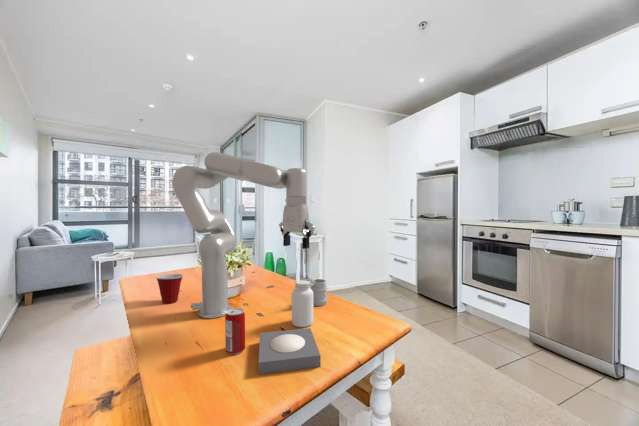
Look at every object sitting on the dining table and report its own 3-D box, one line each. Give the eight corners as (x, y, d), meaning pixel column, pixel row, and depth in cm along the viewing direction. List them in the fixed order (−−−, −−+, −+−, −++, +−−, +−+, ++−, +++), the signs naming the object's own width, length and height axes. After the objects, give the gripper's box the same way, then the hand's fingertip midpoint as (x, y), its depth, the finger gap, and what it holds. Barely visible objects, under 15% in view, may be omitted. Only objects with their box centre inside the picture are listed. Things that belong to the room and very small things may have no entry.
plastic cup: (189, 298, 123) (188, 272, 123) (172, 306, 112) (172, 278, 112) (168, 296, 125) (168, 271, 125) (150, 305, 114) (149, 277, 114)
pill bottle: (316, 319, 99) (316, 280, 98) (308, 329, 91) (308, 286, 91) (297, 317, 101) (296, 278, 101) (287, 326, 94) (287, 284, 93)
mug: (331, 303, 116) (331, 276, 115) (310, 310, 108) (310, 281, 107) (319, 298, 121) (319, 272, 121) (299, 305, 113) (299, 277, 113)
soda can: (248, 346, 80) (248, 307, 80) (239, 356, 75) (238, 314, 75) (231, 344, 81) (231, 306, 81) (221, 354, 76) (221, 313, 76)
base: (258, 374, 67) (258, 361, 67) (259, 342, 83) (259, 332, 82) (320, 366, 70) (320, 354, 70) (310, 337, 86) (310, 327, 86)
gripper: (273, 201, 102) (273, 245, 102) (307, 201, 91) (306, 250, 91) (286, 201, 108) (286, 243, 108) (320, 201, 97) (320, 248, 97)
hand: (296, 247), depth 100 cm, fingers open, 9 cm apart
